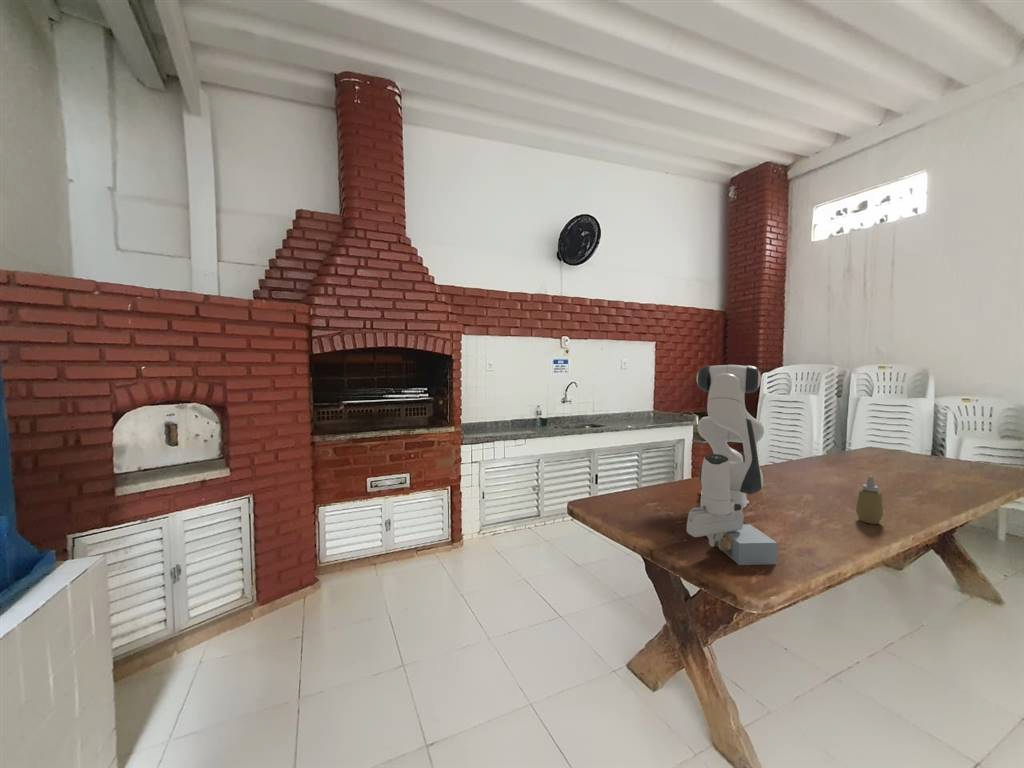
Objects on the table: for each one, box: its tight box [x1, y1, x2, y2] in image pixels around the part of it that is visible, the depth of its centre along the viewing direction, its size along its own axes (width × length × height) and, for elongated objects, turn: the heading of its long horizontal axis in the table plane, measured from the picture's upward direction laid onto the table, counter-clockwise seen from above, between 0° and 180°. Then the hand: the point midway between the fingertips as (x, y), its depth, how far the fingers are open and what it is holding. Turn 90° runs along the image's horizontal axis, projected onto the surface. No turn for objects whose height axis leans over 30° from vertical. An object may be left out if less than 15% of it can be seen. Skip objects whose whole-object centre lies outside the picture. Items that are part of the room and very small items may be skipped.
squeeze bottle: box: [855, 475, 884, 525], centre depth 159 cm, size 8×8×18 cm
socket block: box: [717, 524, 778, 566], centre depth 134 cm, size 14×12×7 cm
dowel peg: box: [718, 538, 731, 552], centre depth 134 cm, size 4×12×4 cm, turn 91°
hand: (714, 545), depth 134 cm, fingers closed
